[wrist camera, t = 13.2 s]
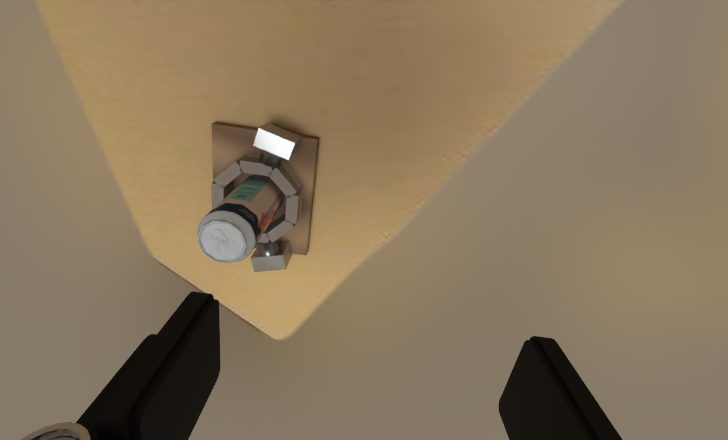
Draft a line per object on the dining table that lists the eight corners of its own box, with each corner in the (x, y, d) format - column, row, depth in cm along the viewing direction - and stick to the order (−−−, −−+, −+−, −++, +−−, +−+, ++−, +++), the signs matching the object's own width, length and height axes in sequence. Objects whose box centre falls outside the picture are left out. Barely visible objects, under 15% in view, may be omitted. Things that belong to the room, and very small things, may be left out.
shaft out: (256, 232, 42) (247, 246, 38) (286, 229, 41) (279, 243, 38) (263, 256, 43) (254, 272, 40) (292, 253, 43) (285, 269, 40)
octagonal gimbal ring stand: (216, 122, 38) (199, 128, 34) (319, 137, 38) (313, 145, 34) (218, 238, 43) (203, 255, 40) (308, 250, 44) (302, 268, 40)
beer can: (258, 219, 41) (217, 276, 30) (233, 185, 39) (179, 232, 28) (292, 201, 40) (263, 253, 29) (268, 165, 38) (227, 205, 27)
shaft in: (291, 164, 38) (284, 173, 35) (259, 150, 38) (249, 158, 35) (301, 136, 37) (294, 143, 34) (268, 122, 37) (258, 128, 33)
